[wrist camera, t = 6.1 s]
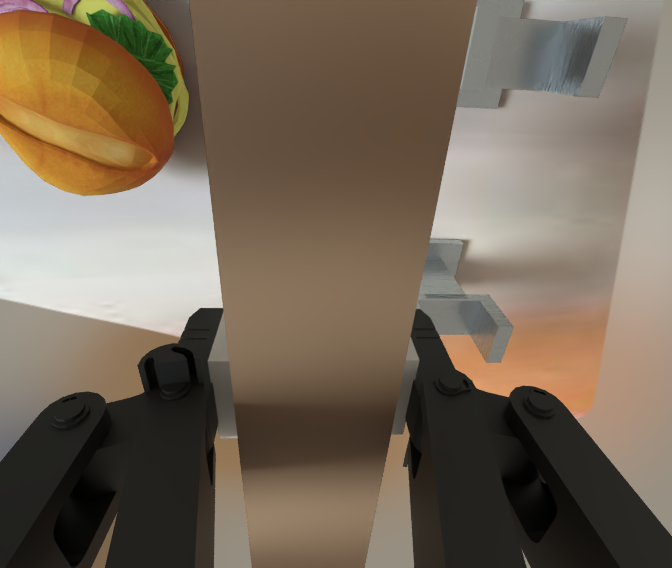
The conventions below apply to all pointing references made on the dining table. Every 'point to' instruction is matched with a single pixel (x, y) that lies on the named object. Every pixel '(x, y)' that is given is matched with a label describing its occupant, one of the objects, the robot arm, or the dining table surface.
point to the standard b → (535, 54)
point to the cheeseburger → (89, 91)
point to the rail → (322, 242)
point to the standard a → (460, 303)
